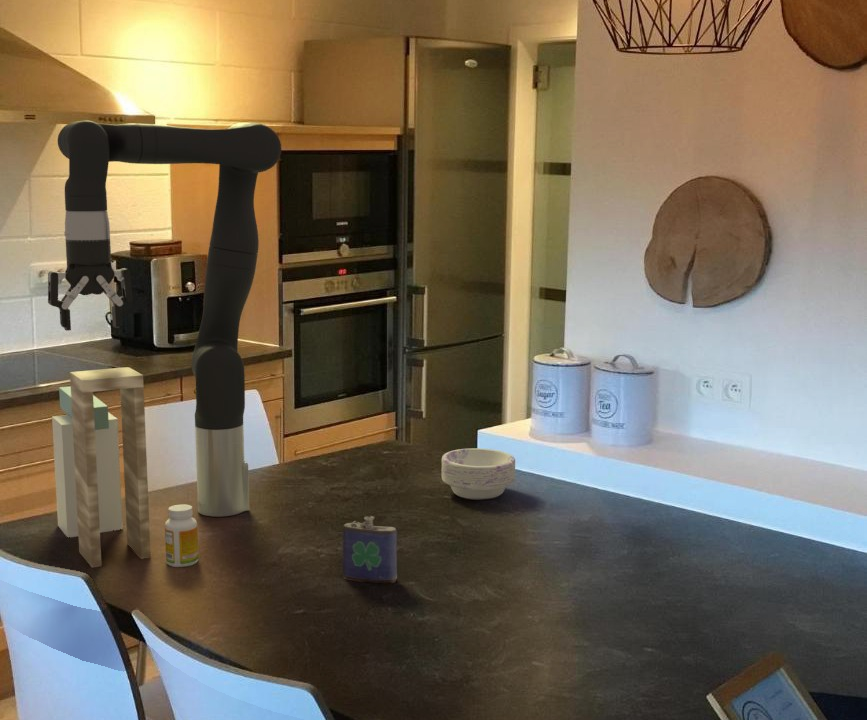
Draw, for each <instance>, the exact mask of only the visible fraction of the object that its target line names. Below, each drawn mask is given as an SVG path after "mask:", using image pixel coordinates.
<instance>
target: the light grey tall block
mask: <svg viewBox="0 0 867 720" xmlns="http://www.w3.org/2000/svg"><path fill="white" fill-rule="evenodd" d="M51 420H52V421H51V423H52V424H51V425H52V441H53V461H54V477H55V494H56V511H57V512H56V514H57V516H56V517H57V527H58V528H59V529H60V530H61V531H62V533H63V534H64V535H65V536H66V537H68V538H69V537H70V538H77V537H79V536H78V517H77V498H76V479H75V460H74V441H73V422H72V418H71V417H70V416H69V415H67V414H66V415H65V414H64V415H56V416H55V415H53V416H51ZM118 420H119V418H117V417H116V416H114V415H113V414H111V413H110V412H109V411H108V421H109V429H100V430H95V444H96V464H97V484H98V504H99V524H100V534H101V533H106V532H107V533H108V532H113V530H114V531H121V530H123V529H124V526H123V508H122V507H123V505H122V504H123V503H122V483H121V481H122V480H121V462H120V461H121V460H120V441H119V440H120V439H119V436H120V435H119V421H118ZM120 529H121V530H120ZM68 538H67V539H68Z"/></svg>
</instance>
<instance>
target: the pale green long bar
mask: <svg viewBox="0 0 867 720" xmlns="http://www.w3.org/2000/svg"><path fill="white" fill-rule="evenodd" d="M58 389H59V390H58V391H59V393H58V394H59V408H60V409H61V411H63V413H66V415H69V416H70V417H71V418H72V403H71V385H69V386H60V387H58ZM93 403H94V423H95V430H100V429H109V421H108V412H109V406H108V405H107V404H105V403H104V402H103V401H102V400H101V399H99V398H98V397H97V396H95V395H94V394H93Z"/></svg>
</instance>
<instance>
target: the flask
mask: <svg viewBox="0 0 867 720" xmlns="http://www.w3.org/2000/svg"><path fill="white" fill-rule="evenodd" d="M363 519H364V520H365V521H364V522H359V521H356V520H354V521H352V522H347V523H345V524H344V525H343V526H342V576H343V579H345V580H349V581H354V582H365V583H367V582H368V583H376V584H393V583H396V581H397V580H398V572H397V571H398V570H397V569H398V567H397V565H398V564H397V563H398V558H397V547H398V546H397V537H398V532H397V529H396V527H394V526H381V525H378V526H377V525H374V520H375V516H372V515H370V516H367V515H366V516H364V518H363Z"/></svg>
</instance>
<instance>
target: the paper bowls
mask: <svg viewBox="0 0 867 720" xmlns="http://www.w3.org/2000/svg"><path fill="white" fill-rule="evenodd" d="M515 476H516V458H515V457H514V456H513V455H512V454H510V453H508V452H504V451H502V450H497V449H492V448H478V447H477V448H461V449H459V448H458V449H455V450H451V451H450V450H449V451H448V452H446V453H444V454H442V457H441V480H442V481H443V483H444V484H446V485H449V486H450V488H451V490H452V492H453V493H454V495H456V496H458V497H460V498H464V499H467V500H481V501H482V500H489V499H490V500H491V499H495V498H498V497H500V496H502V494H503V493H504V491H505V490H506V487H508V486H511V485H512V484H514V482H515V478H516V477H515Z"/></svg>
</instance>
